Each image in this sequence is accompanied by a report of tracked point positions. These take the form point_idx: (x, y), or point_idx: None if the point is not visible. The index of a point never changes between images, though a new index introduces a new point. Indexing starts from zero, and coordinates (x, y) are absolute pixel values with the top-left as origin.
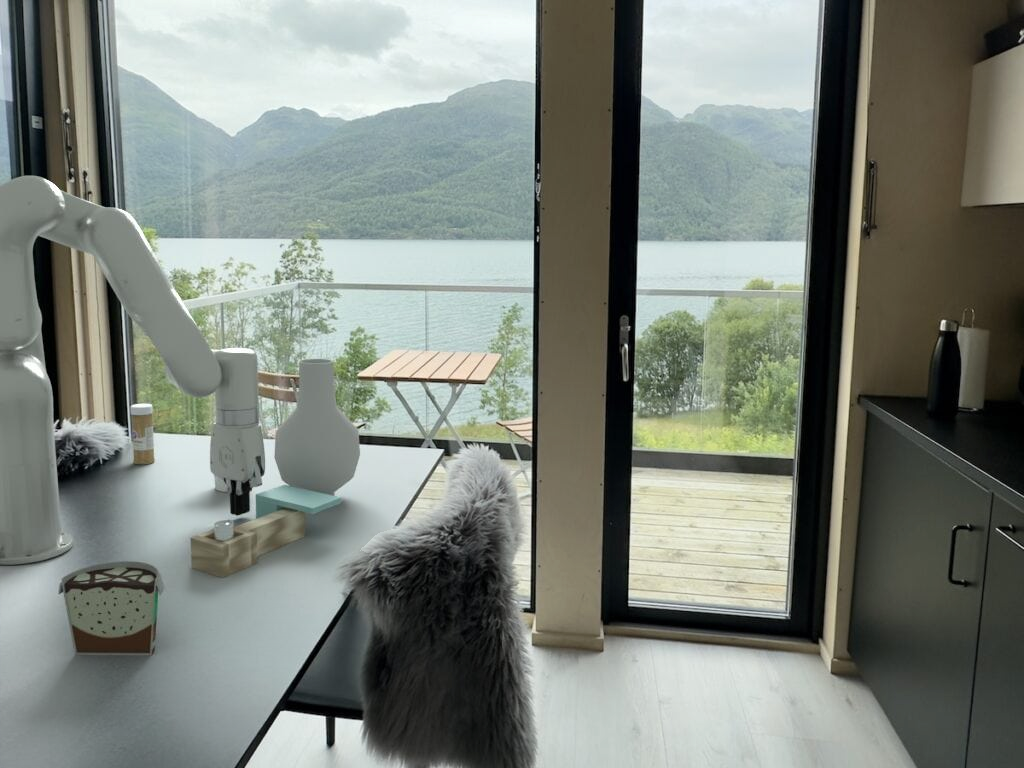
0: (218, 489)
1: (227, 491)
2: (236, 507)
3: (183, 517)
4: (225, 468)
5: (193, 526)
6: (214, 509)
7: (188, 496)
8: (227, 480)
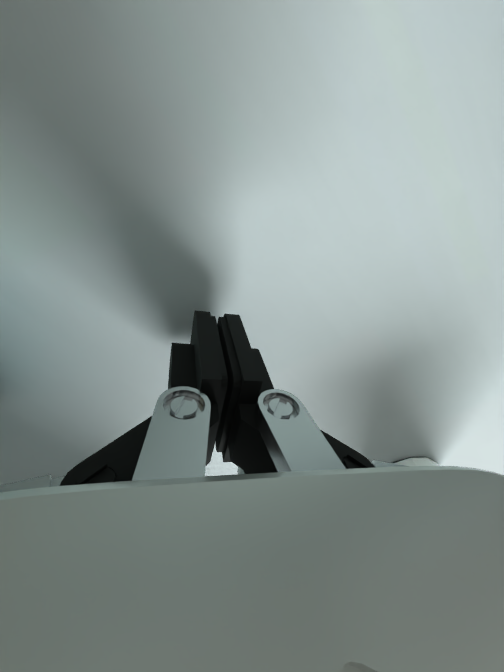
0: (424, 460)
1: (395, 463)
2: (196, 332)
3: (442, 230)
4: (373, 650)
5: (344, 133)
6: (362, 354)
7: (489, 395)
8: (323, 465)
